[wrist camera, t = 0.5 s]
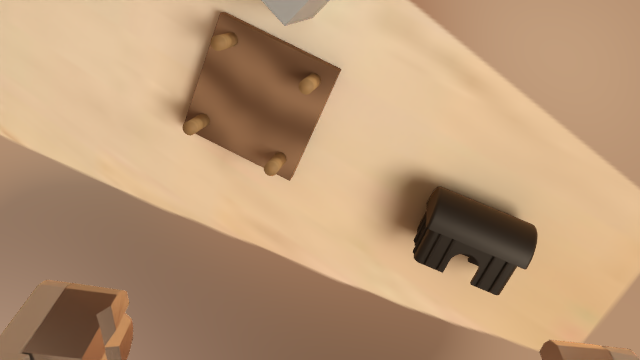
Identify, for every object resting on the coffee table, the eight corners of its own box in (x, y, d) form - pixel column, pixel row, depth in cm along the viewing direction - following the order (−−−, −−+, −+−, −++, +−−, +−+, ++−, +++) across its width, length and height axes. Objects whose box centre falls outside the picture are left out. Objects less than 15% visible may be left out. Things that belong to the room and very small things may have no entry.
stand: (225, 12, 50) (205, 14, 46) (341, 69, 49) (332, 77, 45) (187, 124, 55) (167, 136, 51) (292, 176, 55) (280, 193, 51)
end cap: (530, 212, 51) (544, 243, 45) (497, 266, 54) (505, 302, 48) (439, 174, 51) (440, 200, 45) (411, 230, 54) (408, 261, 48)
